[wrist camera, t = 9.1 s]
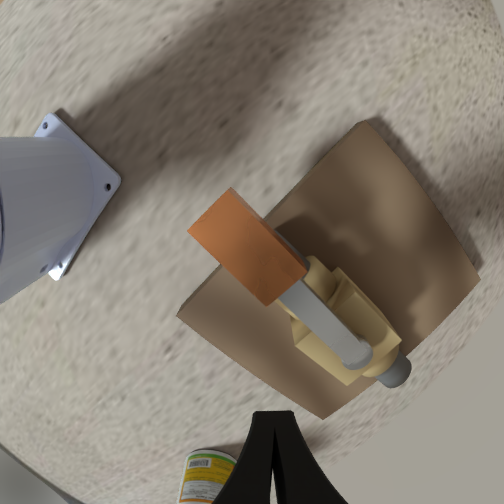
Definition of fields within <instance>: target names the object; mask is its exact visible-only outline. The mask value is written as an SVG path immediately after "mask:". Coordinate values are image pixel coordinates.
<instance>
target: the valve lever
mask: <svg viewBox="0 0 504 504" xmlns="http://www.w3.org/2000/svg"><path fill="white" fill-rule="evenodd" d="M187 232H188V233H190V234H191V235H192V236H193V237H194V238H195V239H196V240H197V241H198V242H199V243H200V244H201V245H202V246H203V247H204V248H205V249H206V250H207V251H208V252H209V253H210V254H211V255H212V256H213V257H214V258H215V259H216V260H217V261H218V262H219V263H220V264H221V265H222V266H224V267H225V268H226V269H227V270H228V271H229V272H230V273H231V274H232V275H233V276H234V277H235V278H236V279H237V280H238V281H239V282H240V283H241V284H242V285H243V286H244V287H246V288H247V289H248V290H249V291H250V292H251V293H252V294H253V295H254V296H255V297H256V298H257V299H258V300H259V301H260V302H261V303H263V304H264V305H265V306H266V307H268V306H269V305H270V304H271V303H272V302H273V301H275V300H276V299H277V298H278V299H279V300H280V301H281V302H282V303H283V304H284V305H285V306H286V307H287V308H288V309H289V310H290V311H291V312H293V313H294V314H295V315H296V316H297V317H298V318H299V319H300V320H301V321H302V322H303V323H304V324H305V325H306V326H307V327H308V328H309V329H310V330H311V331H312V332H313V333H315V334H316V335H317V336H318V337H319V338H320V339H321V340H322V341H323V342H324V343H325V344H326V345H327V346H328V347H329V348H330V349H331V350H333V351H334V352H335V353H336V354H337V355H338V356H339V357H340V358H341V361H342V364H343V366H344V367H345V368H347V369H349V370H358V369H361V368H363V367H365V366H366V365H368V364H369V362H370V361H371V360H372V357H373V350H372V348H371V346H370V344H369V342H368V341H367V339H366V337H365V336H363V335H360V334H355V333H354V332H353V331H352V330H351V329H350V327H349V326H348V325H347V324H346V323H345V322H344V321H343V320H342V319H341V318H340V317H339V316H338V315H337V314H336V313H335V312H334V311H333V310H332V309H331V308H330V307H329V305H328V304H327V303H326V302H325V301H324V300H323V299H322V298H321V297H320V296H319V295H318V294H317V293H316V292H315V291H314V290H313V289H312V288H311V287H310V286H309V285H308V284H307V283H306V282H305V281H304V280H303V279H302V278H301V277H303V276H304V275H305V274H306V273H307V269H306V267H305V265H304V262H303V260H302V259H301V258H300V257H299V256H298V255H297V254H296V253H295V252H294V251H293V250H292V249H291V248H290V247H289V246H288V245H287V244H286V243H285V241H284V240H283V239H282V238H281V237H280V236H279V235H278V234H277V233H276V232H275V231H274V230H273V229H272V228H271V227H270V226H269V225H268V224H267V223H266V222H265V221H264V220H263V219H262V218H261V217H260V216H259V215H258V214H257V213H256V212H255V211H254V210H253V209H252V208H251V207H250V206H249V205H248V203H247V202H246V201H245V200H244V199H243V198H242V197H241V196H240V195H239V194H238V193H237V192H236V191H235V190H234V189H233V188H232V187H230V188H229V189H228V190H227V191H226V192H225V193H224V194H223V195H222V196H221V197H220V198H219V199H218V200H217V201H216V202H215V203H214V204H213V205H212V206H211V207H210V208H209V209H208V210H207V211H206V212H205V213H204V214H203V215H202V216H201V217H200V218H199V219H198V220H197V221H196V222H195V223H194V224H193V225H192V226H191V227H190V228H189V229H188V230H187Z"/></svg>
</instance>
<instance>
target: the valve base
mask: <svg viewBox="0 0 504 504" xmlns="http://www.w3.org/2000/svg"><path fill="white" fill-rule="evenodd" d="M263 220H264V221H265V222H266V223H267V224H268V225H269V226H270V227H271V228H272V229H273V230H274V231H275V232H276V233H277V234H278V235H279V236H280V237H281V238H282V239H283V240H284V241H285V243H286V244H287V245H288V246H289V247H290V248H291V249H292V250H293V251H294V252H295V253H296V254H297V255H298V256H299V257H300V258H301V259H302V260H303V262H304V265H305V267H306V269H307V273H306V274H305V275H304V276H303V277H301V278H302V279H303V280H304V281H305V282H306V283H307V284H308V285H309V286H310V287H311V288H312V289H313V290H314V291H315V292H316V293H317V294H318V295H319V296H320V297H321V298H322V299H323V300H324V301H325V302H326V303H327V304H328V305H329V307H330V308H331V309H332V310H333V311H334V312H335V313H336V314H337V315H338V316H339V317H340V318H341V319H342V320H343V321H344V322H345V323H346V324H347V325H348V326H349V327H350V329H351V330H352V331H353V332H354V333H355V334H360V335H363V336H365V337H366V339H367V341H368V342H369V344H370V346H371V348H372V350H373V357H372V360H371V361H370V362H369V364H368V365H366V366H365V367H363V368H361V369H358V370H349V369H347V368H345V367H344V366H343V364H342V361H341V358H340V357H339V356H338V355H337V354H336V353H335V352H334V351H333V350H331V349H330V348H329V347H328V346H327V345H326V344H325V343H324V342H323V341H322V340H321V339H320V338H319V337H318V336H317V335H316V334H315V333H313V332H312V331H311V330H310V329H309V328H308V327H307V326H306V325H305V324H304V323H303V322H302V321H301V320H300V319H299V318H298V317H297V316H296V315H295V314H294V313H293V312H291V311H290V310H289V309H288V308H287V307H286V306H285V305H284V304H283V303H282V302H281V301H280V300H279V299H278V298H277V299H276V300H275V301H273V302H272V303H271V304H270V305H269V306H268V307H266V306H265V305H264V304H263V303H261V302H260V301H259V300H258V299H257V298H256V297H255V296H254V295H253V294H252V293H251V292H250V291H249V290H248V289H247V288H246V287H244V286H243V285H242V284H241V283H240V282H239V281H238V280H237V279H236V278H235V277H234V276H233V275H232V274H231V273H230V272H229V271H228V270H227V269H226V268H225V267H224V266H222V265H221V264H220V265H219V266H218V267H217V268H216V269H215V270H214V271H213V272H212V273H211V274H210V275H209V277H208V278H207V279H206V280H205V281H204V282H203V283H202V284H201V285H200V286H199V287H198V288H197V289H196V290H195V291H194V292H193V294H192V295H191V296H190V297H189V298H188V299H187V300H186V301H185V302H184V303H183V304H182V305H181V307H180V309H179V311H178V313H177V315H176V316H177V317H178V318H179V319H181V320H182V321H183V322H184V323H186V324H187V325H188V326H189V327H191V328H192V329H193V330H194V331H196V332H197V333H198V334H199V335H201V336H202V337H203V338H205V339H206V340H207V341H209V342H210V343H211V344H212V345H214V346H215V347H216V348H218V349H219V350H220V351H222V352H223V353H224V354H226V355H227V356H228V357H230V358H231V359H233V360H234V361H235V362H237V363H238V364H239V365H241V366H242V367H244V368H245V369H246V370H248V371H249V372H251V373H252V374H254V375H255V376H256V377H258V378H259V379H261V380H262V381H264V382H265V383H267V384H268V385H269V386H271V387H272V388H274V389H275V390H277V391H278V392H280V393H281V394H283V395H284V396H286V397H288V398H289V399H291V400H292V401H294V402H295V403H297V404H298V405H300V406H301V407H303V408H305V409H306V410H308V411H309V412H311V413H313V414H314V415H316V416H318V417H319V418H321V419H322V420H324V419H325V418H327V417H328V416H330V415H331V414H332V413H334V412H335V411H337V410H338V409H340V408H341V407H343V406H344V405H345V404H347V403H348V402H349V401H351V400H352V399H354V398H355V397H356V396H358V395H359V394H360V393H362V392H363V391H364V390H366V389H367V388H368V387H369V386H371V385H372V384H373V383H375V382H376V381H377V380H379V381H380V382H381V383H382V384H384V385H385V386H386V387H388V388H395V387H398V386H400V385H401V384H403V383H404V382H405V381H406V380H407V378H408V377H409V375H410V373H411V368H412V366H411V362H410V361H409V360H408V359H407V358H406V356H407V355H408V354H409V353H410V352H411V351H412V350H413V349H415V348H416V347H417V346H418V345H419V344H420V343H421V342H422V341H423V340H424V339H425V338H426V337H427V336H428V335H429V334H431V333H432V332H433V331H434V330H435V329H436V328H437V327H438V326H439V325H440V324H441V323H442V322H443V321H444V320H445V319H446V318H447V317H448V315H449V314H450V313H451V312H452V311H453V310H454V309H455V308H456V307H457V306H458V305H459V304H460V303H461V302H462V301H463V299H464V298H465V297H466V296H467V295H468V294H469V293H470V292H471V290H472V289H473V288H474V287H475V286H476V285H477V283H478V282H479V281H480V280H481V279H480V277H479V275H478V274H477V272H476V270H475V268H474V266H473V265H472V263H471V261H470V259H469V258H468V256H467V254H466V253H465V251H464V249H463V248H462V246H461V244H460V243H459V241H458V239H457V238H456V236H455V235H454V233H453V232H452V230H451V228H450V227H449V225H448V224H447V222H446V221H445V219H444V218H443V216H442V215H441V213H440V212H439V211H438V209H437V208H436V206H435V205H434V203H433V202H432V201H431V199H430V198H429V196H428V195H427V194H426V192H425V191H424V190H423V188H422V187H421V186H420V184H419V183H418V182H417V180H416V179H415V178H414V176H413V175H412V174H411V173H410V171H409V170H408V169H407V168H406V166H405V165H404V164H403V163H402V161H401V160H400V159H399V158H398V156H397V155H396V154H395V153H394V152H393V151H392V149H391V148H390V147H389V146H388V145H387V144H386V142H385V141H384V140H383V139H382V138H381V137H380V136H379V134H378V133H377V132H376V131H375V130H374V129H373V128H372V127H371V126H370V125H369V123H368V122H367V121H366V120H364V121H361V122H358V123H356V124H355V125H354V126H353V127H352V128H351V129H350V131H349V132H348V133H347V134H346V135H345V136H344V137H343V138H342V139H341V140H340V141H339V142H338V143H337V144H336V145H335V146H334V147H333V148H332V149H331V150H330V151H329V152H328V153H327V154H326V155H325V156H324V157H323V158H322V159H321V160H320V161H319V162H318V163H317V164H316V165H315V166H314V167H313V168H312V169H311V170H310V171H309V172H308V173H307V174H306V175H305V176H304V177H303V178H302V179H301V180H300V181H299V183H298V184H297V185H296V186H295V187H294V188H293V189H292V190H291V191H290V192H289V193H288V194H287V195H286V196H285V197H284V198H283V199H282V200H281V201H280V202H279V203H278V204H277V205H276V206H275V207H274V208H273V209H272V210H271V211H270V213H269V214H268V215H267V216H266V217H265V218H264V219H263Z"/></svg>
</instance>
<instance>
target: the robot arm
mask: <svg viewBox="0 0 504 504" xmlns="http://www.w3.org/2000/svg"><path fill="white" fill-rule="evenodd" d="M47 123H48V127H47V128H46V124H47ZM108 183H109V184H110V185H111V190H110V191H109V190H108V189H107V184H108ZM120 184H121V177H120V176H119V174H118V173H117V172H116V171H114V170H113V169H112V168H111V167H110V166H109V165H108V164H107V163H106V162H105V161H104V160H103V159H102V158H101V157H100V156H98V155H97V154H96V153H95V152H94V151H93V150H92V149H91V148H90V147H89V146H88V145H87V144H86V143H85V142H84V141H83V140H82V139H81V138H80V137H79V136H78V135H76V134H75V133H74V132H73V131H72V130H71V129H70V128H69V127H68V126H67V125H66V124H65V123H64V122H63V121H62V120H61V119H60V118H59V117H58V116H57V115H56V114H55V113H48V114H47V115H46V116H45V118H44V120H43V121H42V123H41V125H40V126H39V128H38V130H37V132H36V133H35V135H34V137H0V304H2V303H4V302H5V301H7V300H8V299H10V298H11V297H13V296H14V295H15V294H17V293H18V292H20V291H21V290H23V289H24V288H26V287H27V286H29V285H30V284H32V283H33V282H35V281H36V280H38V279H39V278H41V277H42V276H44V275H46V274H47V273H48V274H49V275H50V276H51V277H52V278H53V279H54V280H59V279H61V278H62V276H63V274H64V273H65V271H66V269H67V267H68V265H69V264H70V262H71V260H72V259H73V257H74V255H75V253H76V252H77V250H78V248H79V247H80V245H81V243H82V242H83V240H84V238H85V237H86V235H87V234H88V232H89V230H90V229H91V227H92V226H93V224H94V223H95V221H96V219H97V218H98V216H99V215H100V213H101V212H102V210H103V209H104V207H105V206H106V204H107V203H108V201H109V200H110V199H111V197H112V196H113V194H114V193H115V191H116V190H117V189H118V187H119V186H120ZM60 262H62V264H63V266H61V264H60ZM272 469H273V474H274V481H275V489H276V497H277V503H278V504H348V503H347V502H346V501H345V500H344V498H343V497H342V496H341V495H340V494H339V493H338V491H337V490H336V489H335V488H334V486H333V485H332V484H331V483H330V481H329V480H328V479H327V477H326V476H325V474H324V473H323V471H322V470H321V468H320V467H319V465H318V463H317V462H316V460H315V459H314V457H313V455H312V453H311V451H310V450H309V448H308V446H307V444H306V442H305V440H304V438H303V436H302V434H301V432H300V429H299V427H298V424H297V422H296V419H295V416H294V412H292V411H291V410H288V411H256V412H254V413H253V417H252V423H251V427H250V430H249V433H248V436H247V439H246V442H245V444H244V447H243V449H242V452H241V454H240V456H239V458H238V461H237V463H236V464H235V466H234V468H233V470H232V472H231V474H230V476H229V478H228V479H227V481H226V483H225V484H224V486H223V487H222V489H221V491H220V492H219V494H218V495H217V496H216V498H215V499H214V501H213V502H212V503H211V504H270V491H271V480H272Z"/></svg>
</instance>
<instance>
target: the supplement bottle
mask: <svg viewBox="0 0 504 504" xmlns="http://www.w3.org/2000/svg"><path fill="white" fill-rule="evenodd" d="M236 463H237V461H236V460H235V459H234V458H233V457H232V456H230V455H228V454H226V453H223V452H219V451H214V450H198V451H194V452H192V453H190V454H189V455H188V456H187V458H186V460H185V464H184V469H183V473H182V478H181V483H180V487H179V492H178V496H177V501H176V504H211V503H212V502H213V501H214V499H215V498H216V496H217V495H218V494H219V492H220V491H221V489H222V487H223V486H224V484H225V483H226V481H227V479H228V478H229V476H230V474H231V472H232V470H233V468H234V466H235V464H236Z"/></svg>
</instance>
